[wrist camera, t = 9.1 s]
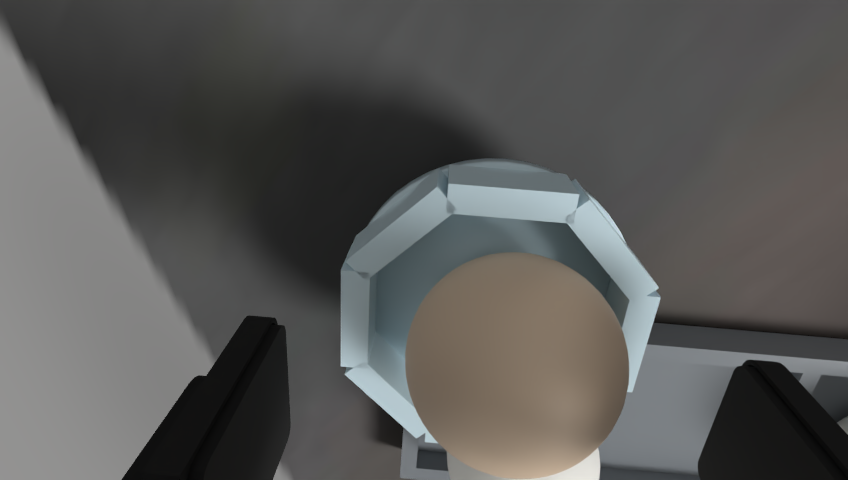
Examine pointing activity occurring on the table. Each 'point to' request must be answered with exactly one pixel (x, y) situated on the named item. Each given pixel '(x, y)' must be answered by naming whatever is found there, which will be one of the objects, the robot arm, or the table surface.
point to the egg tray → (682, 399)
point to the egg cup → (466, 240)
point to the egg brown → (517, 365)
